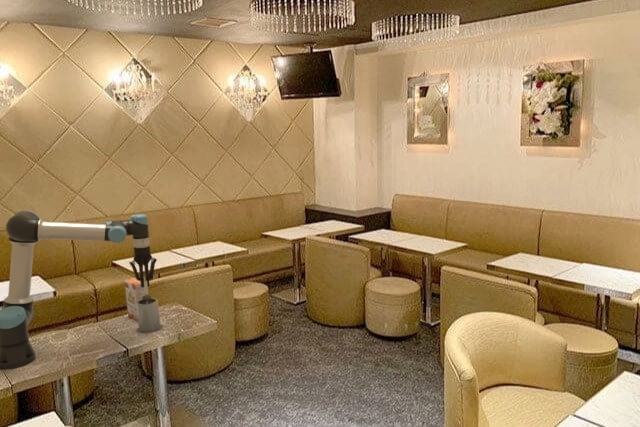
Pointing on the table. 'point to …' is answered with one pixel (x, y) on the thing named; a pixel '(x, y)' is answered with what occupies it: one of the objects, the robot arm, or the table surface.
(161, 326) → the coaster
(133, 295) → the cracker box
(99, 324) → the table surface
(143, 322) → the grey hexagonal cup
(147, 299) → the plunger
